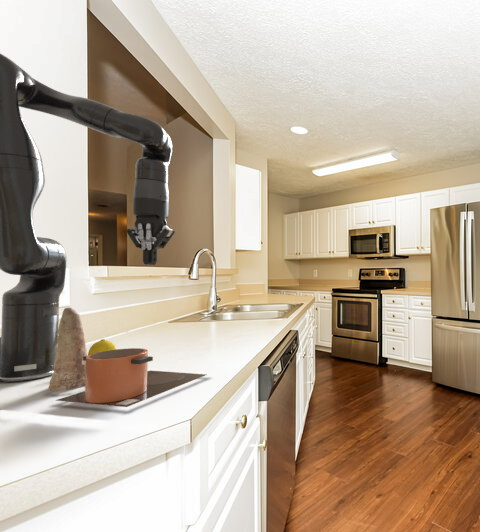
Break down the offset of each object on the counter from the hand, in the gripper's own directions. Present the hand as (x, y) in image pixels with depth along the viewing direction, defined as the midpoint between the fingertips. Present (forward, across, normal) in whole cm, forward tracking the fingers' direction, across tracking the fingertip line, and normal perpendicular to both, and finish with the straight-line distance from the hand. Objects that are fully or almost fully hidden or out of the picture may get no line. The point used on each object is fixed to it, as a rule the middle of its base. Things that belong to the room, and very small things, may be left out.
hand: (149, 264), depth 90 cm
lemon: (+27, -8, -5) cm, 29 cm away
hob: (+27, +14, -15) cm, 34 cm away
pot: (+26, +14, -20) cm, 36 cm away
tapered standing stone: (+27, 0, -18) cm, 33 cm away
